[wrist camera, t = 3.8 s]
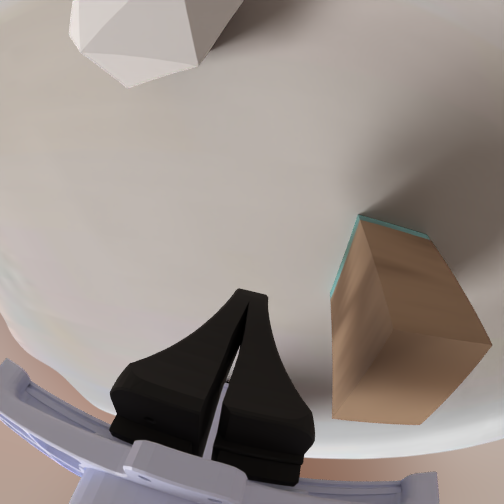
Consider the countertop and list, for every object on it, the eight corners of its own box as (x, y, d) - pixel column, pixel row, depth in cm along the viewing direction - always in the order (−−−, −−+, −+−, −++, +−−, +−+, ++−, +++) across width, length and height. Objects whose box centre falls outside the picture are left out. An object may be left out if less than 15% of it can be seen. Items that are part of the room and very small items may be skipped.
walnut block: (393, 306, 20) (420, 424, 12) (330, 292, 21) (332, 418, 12) (426, 234, 17) (492, 345, 9) (357, 214, 18) (393, 328, 9)
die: (127, -16, 13) (14, 56, 9) (206, -99, 6) (54, -72, 3) (201, 54, 17) (112, 145, 14) (300, -6, 11) (212, 65, 8)
